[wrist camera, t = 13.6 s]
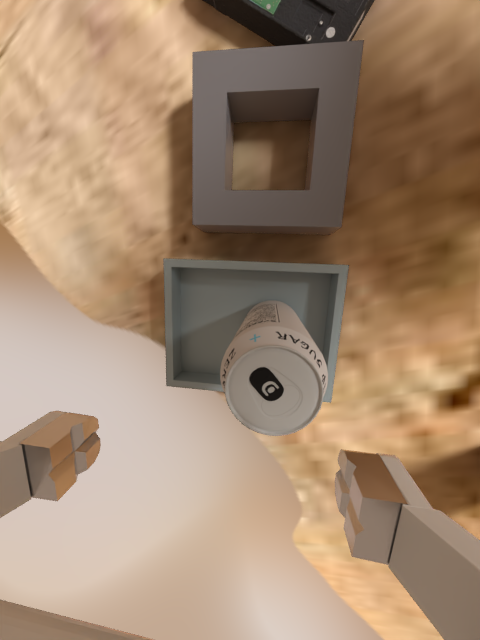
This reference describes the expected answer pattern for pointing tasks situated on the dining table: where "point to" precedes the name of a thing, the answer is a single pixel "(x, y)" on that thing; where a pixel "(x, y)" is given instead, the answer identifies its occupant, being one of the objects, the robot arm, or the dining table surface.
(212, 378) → the parts tray
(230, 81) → the socket block
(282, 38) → the disk drive
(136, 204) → the dining table surface
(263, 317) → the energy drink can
